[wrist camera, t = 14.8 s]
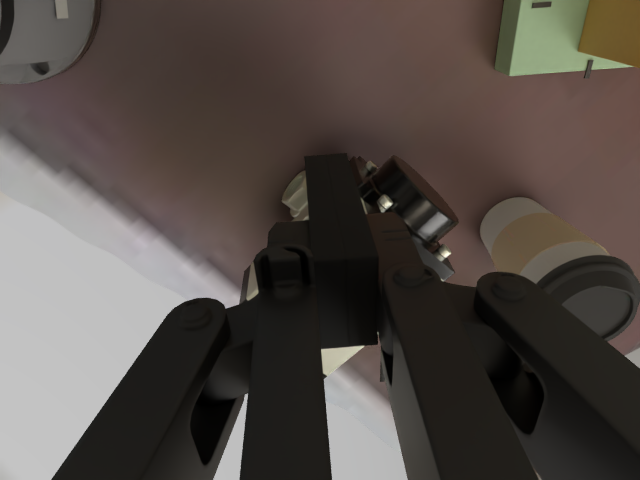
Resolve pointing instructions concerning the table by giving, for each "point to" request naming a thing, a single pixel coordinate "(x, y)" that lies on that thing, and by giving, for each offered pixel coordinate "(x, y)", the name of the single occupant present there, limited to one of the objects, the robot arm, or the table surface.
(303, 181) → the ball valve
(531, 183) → the table surface
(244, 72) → the table surface
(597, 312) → the coffee cup
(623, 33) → the yellow rectangular block
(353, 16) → the table surface
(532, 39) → the plate
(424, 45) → the table surface
